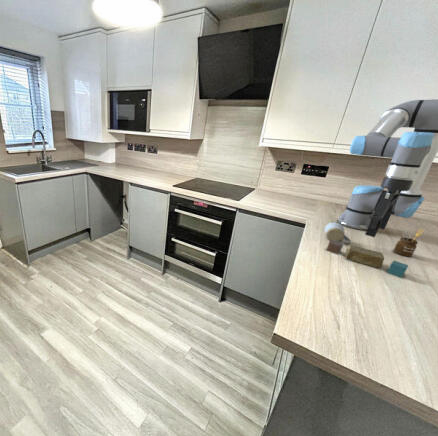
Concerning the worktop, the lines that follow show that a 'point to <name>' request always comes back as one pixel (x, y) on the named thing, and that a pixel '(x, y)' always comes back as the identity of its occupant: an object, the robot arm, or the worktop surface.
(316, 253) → the worktop surface
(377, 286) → the worktop surface
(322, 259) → the worktop surface
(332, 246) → the walnut block
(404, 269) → the teal block
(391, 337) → the worktop surface
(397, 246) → the utensil holder
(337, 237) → the ceramic mug
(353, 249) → the stone block
